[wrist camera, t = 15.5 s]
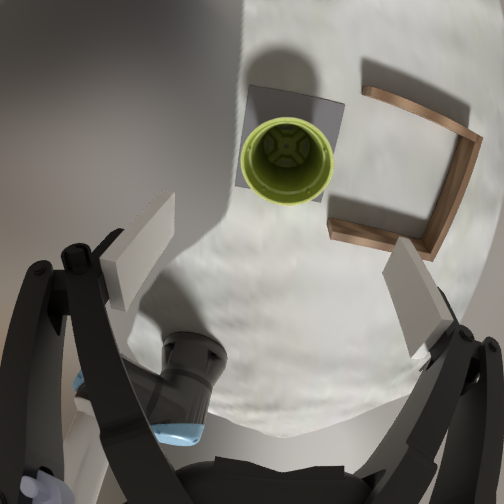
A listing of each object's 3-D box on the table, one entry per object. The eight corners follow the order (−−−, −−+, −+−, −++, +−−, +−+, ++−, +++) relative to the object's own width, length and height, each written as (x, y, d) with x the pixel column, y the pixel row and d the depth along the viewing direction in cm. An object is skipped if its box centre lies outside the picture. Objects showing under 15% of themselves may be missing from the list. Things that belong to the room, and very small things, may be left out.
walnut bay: (326, 224, 40) (330, 239, 36) (363, 85, 28) (372, 86, 25) (423, 247, 39) (432, 261, 36) (468, 131, 28) (483, 137, 24)
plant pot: (325, 111, 31) (336, 120, 24) (321, 180, 36) (330, 208, 29) (249, 109, 32) (238, 117, 25) (252, 178, 37) (242, 204, 30)
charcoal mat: (235, 185, 38) (235, 186, 38) (249, 85, 30) (249, 85, 30) (320, 202, 38) (320, 202, 38) (344, 104, 30) (345, 104, 30)
